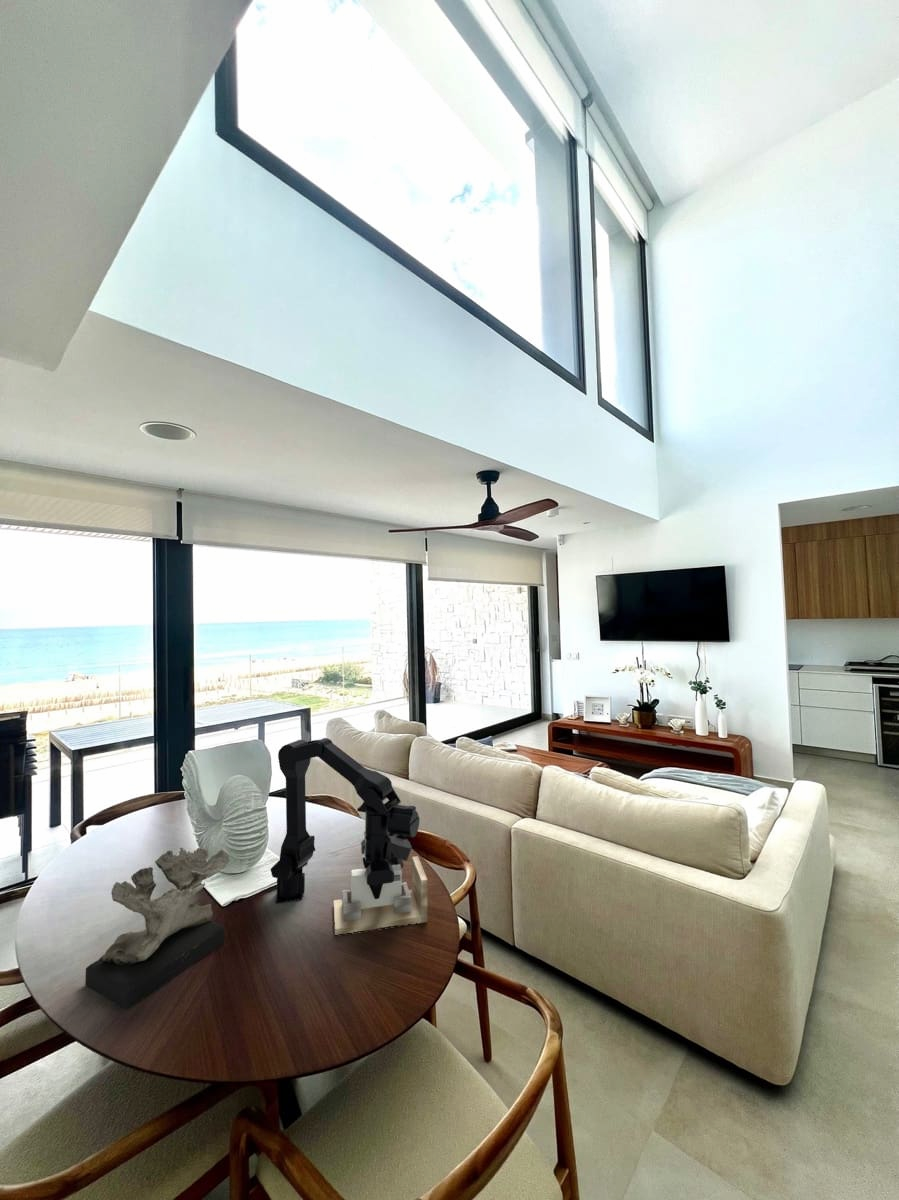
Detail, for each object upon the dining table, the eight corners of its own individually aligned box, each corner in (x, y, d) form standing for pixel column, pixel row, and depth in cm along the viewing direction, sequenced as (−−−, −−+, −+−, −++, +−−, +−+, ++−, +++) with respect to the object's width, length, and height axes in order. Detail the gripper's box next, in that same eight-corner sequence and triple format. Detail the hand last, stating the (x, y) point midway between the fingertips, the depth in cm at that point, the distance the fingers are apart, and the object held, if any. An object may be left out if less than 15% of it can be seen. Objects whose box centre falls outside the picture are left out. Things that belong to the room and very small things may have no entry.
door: (351, 912, 119) (352, 877, 119) (350, 903, 122) (351, 870, 123) (401, 905, 122) (402, 871, 122) (399, 896, 125) (399, 864, 126)
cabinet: (335, 936, 114) (335, 891, 114) (333, 906, 125) (334, 866, 126) (427, 922, 119) (427, 879, 120) (417, 894, 131) (417, 856, 131)
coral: (198, 917, 121) (200, 827, 121) (257, 944, 111) (259, 846, 112) (82, 984, 99) (86, 874, 99) (144, 1024, 89) (147, 901, 90)
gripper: (416, 843, 116) (415, 912, 115) (403, 812, 134) (402, 872, 133) (367, 848, 113) (366, 919, 113) (361, 816, 131) (360, 877, 131)
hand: (376, 894), depth 122 cm, fingers closed on door, 3 cm apart
